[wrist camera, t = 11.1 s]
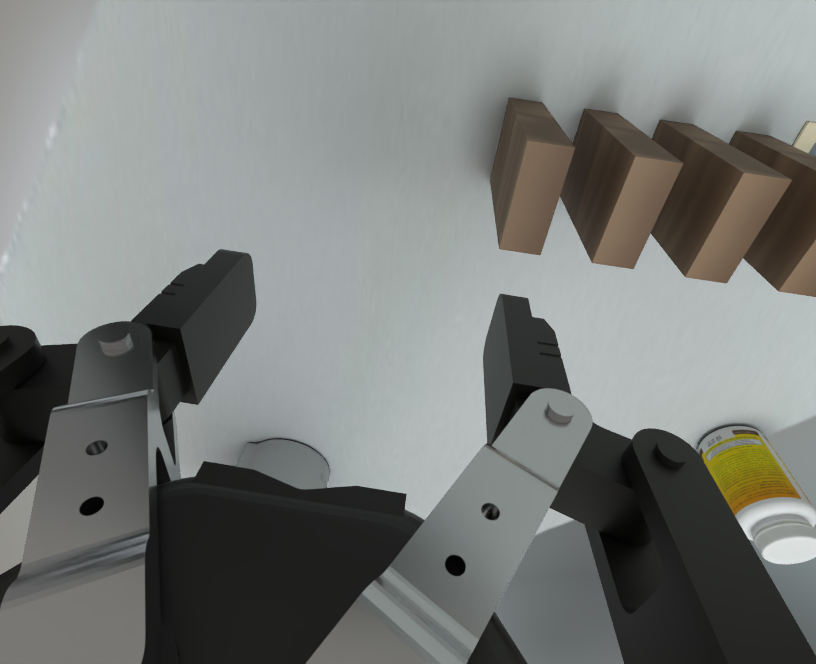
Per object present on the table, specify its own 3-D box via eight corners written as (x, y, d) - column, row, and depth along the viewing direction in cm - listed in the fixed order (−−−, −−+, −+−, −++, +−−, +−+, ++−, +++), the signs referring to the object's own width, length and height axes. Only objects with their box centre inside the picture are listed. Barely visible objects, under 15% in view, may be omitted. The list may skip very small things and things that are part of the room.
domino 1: (490, 181, 30) (499, 248, 22) (508, 97, 27) (527, 140, 19) (520, 185, 30) (540, 255, 22) (542, 102, 27) (575, 147, 19)
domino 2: (557, 191, 30) (592, 262, 22) (584, 108, 27) (635, 156, 19) (587, 195, 30) (633, 269, 22) (617, 113, 27) (683, 163, 19)
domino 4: (693, 211, 29) (778, 291, 22) (736, 130, 26) (852, 189, 19) (724, 216, 29) (819, 297, 22) (770, 135, 26) (901, 196, 18)
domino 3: (625, 201, 30) (685, 277, 22) (659, 119, 27) (743, 172, 19) (656, 205, 30) (726, 283, 22) (693, 124, 27) (792, 179, 19)
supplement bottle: (682, 445, 42) (733, 551, 34) (738, 413, 39) (809, 522, 31) (720, 469, 44) (778, 577, 36) (777, 441, 41) (854, 551, 33)
